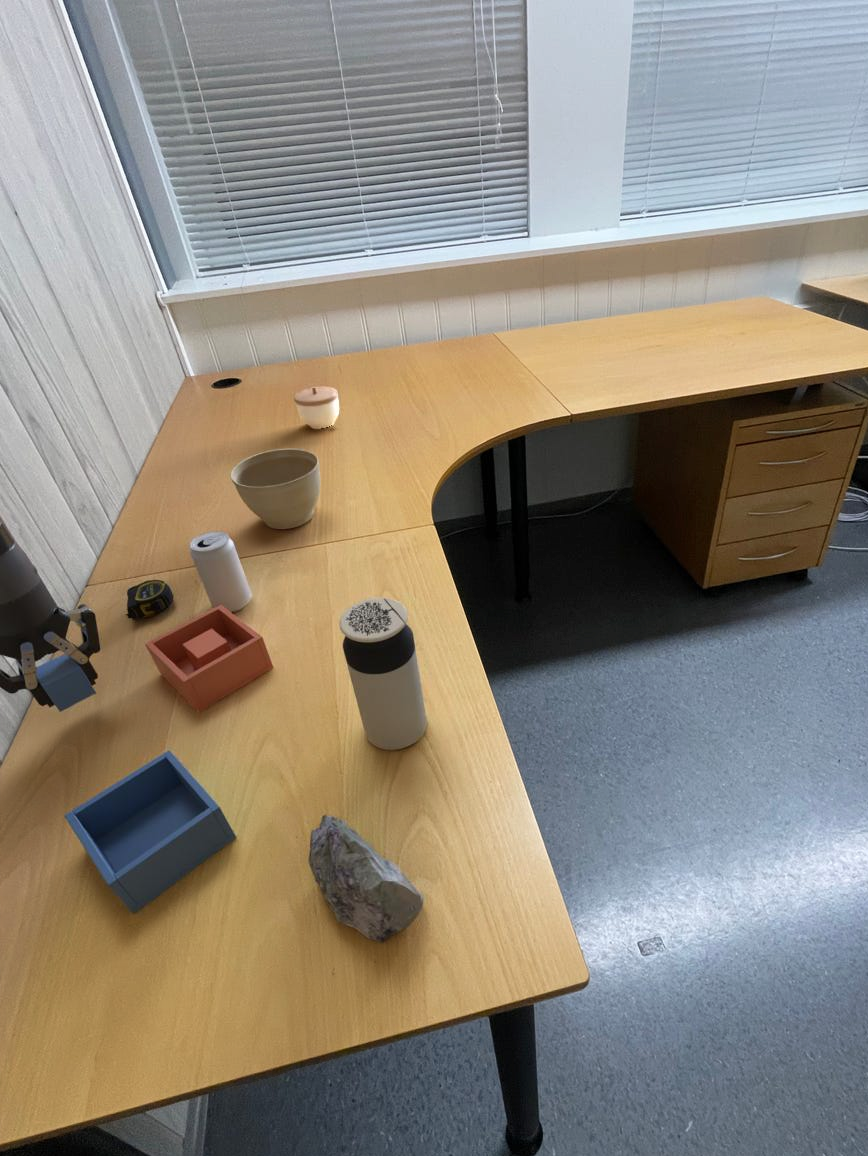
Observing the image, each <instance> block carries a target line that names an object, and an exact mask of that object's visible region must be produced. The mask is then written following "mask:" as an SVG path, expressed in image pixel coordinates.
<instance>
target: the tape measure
mask: <svg viewBox="0 0 868 1156" xmlns="http://www.w3.org/2000/svg"><path fill="white" fill-rule="evenodd" d="M168 584H169V583H166V582H165V581H164V580H161V579H149V580H145V581H144V582H140V583H139V584H136V585H134V586H131V587H129V588H127V591H126V596H127V602H126V611H127V613H125V616H127V619H128V620H130V619H132V620H133V621H139V620H142V619H144V618H145V617H153V616H158V615H160V614H161V613H164V612H165V611H167V610H168V609H170V607H171V606H172V605H173V603H174V597H175V596H174V592H173V590H172V589H171V587H170V586H169V585H168Z"/></svg>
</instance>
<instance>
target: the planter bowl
mask: <svg viewBox="0 0 868 1156" xmlns="http://www.w3.org/2000/svg"><path fill="white" fill-rule="evenodd" d="M230 479H231V481H232V484H233V485H234V486H235V489H236V491H237V493H238V495H239V497H240V499H241V500H242V501H243V503H244V504H245V506H246V507H247V508H248V509H249V510H250V511H251V512H252V513H253V514H254V515H256V516H257V517H258V518H260V519H261V520H262V521H263V522H264V523H265V525H266V526H267V527H269V528H271V529H275V530H287V529H294V528H297V527H300V526H302V525H304V524H306V523H308V522H309V521H310V520H311V519H312V518H313V517H314V514H315V509H314V508H315V507H316V505H317V502H318V499H319V497H320V491H321V472H320V461H319V457H318V456H317V455H316V454H315V453H313V452H312V451H309V450H306V449H301V448H300V449H299V448H279V449H272V450H267V451H264V452H260V453H257V454H253V455H251V456H249V457H247V458H245V459H244V460H242V461H240V462H239V463H237V464H236V465H235V466H234V467H233V468H232V470H231V472H230Z"/></svg>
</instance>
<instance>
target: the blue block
mask: <svg viewBox="0 0 868 1156" xmlns="http://www.w3.org/2000/svg"><path fill="white" fill-rule="evenodd" d="M36 671H37V672H36V677H37V680H38V681H39V683H40V684H41V686H42V687H43V688H44V690H45V691H46V693H47V694H48V696H49V697H50V699H51V700H52V701H53V703H54V704H55V705H54V706H55V708H56V709H57V710H58V711H59V713H61V712H63V711H65V710H67V709H69V708H71V707H73V706H74V705H77V704H78V703H81V702H82V701H84V700H86V699H88V698H90V697H92V696H93V695H96V694H97V692H96V690H95V688H94V686H92V685H91V684H90V682H89V680H88V679H87V677H86V675H85V674H84V672H83V671H82V669H81V668H80V666H79V665H78V664H77V663H76V662H75V660H74V659H72V658H71V657H70V656H67V655H66V654H65V653H63V654H61V655H59V656H57V657H55V658H53V659H51V660H49V661H47V662H44V663H42V664H40V665H38V666H36Z"/></svg>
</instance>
